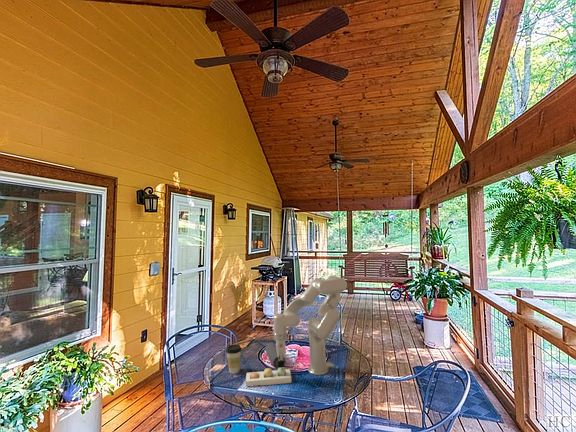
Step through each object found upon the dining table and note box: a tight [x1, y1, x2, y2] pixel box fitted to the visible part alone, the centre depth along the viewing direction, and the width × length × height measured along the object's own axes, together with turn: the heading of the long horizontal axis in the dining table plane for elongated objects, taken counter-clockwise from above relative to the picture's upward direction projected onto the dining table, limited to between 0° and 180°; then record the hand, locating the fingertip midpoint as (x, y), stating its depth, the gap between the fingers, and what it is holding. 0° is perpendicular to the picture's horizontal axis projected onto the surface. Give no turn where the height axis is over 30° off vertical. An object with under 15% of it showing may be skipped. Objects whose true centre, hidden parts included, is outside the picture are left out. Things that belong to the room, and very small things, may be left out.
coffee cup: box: [225, 344, 243, 375], centre depth 190 cm, size 10×10×15 cm
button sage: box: [277, 366, 286, 376], centre depth 178 cm, size 4×4×3 cm
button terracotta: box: [251, 373, 259, 379], centre depth 176 cm, size 4×4×3 cm
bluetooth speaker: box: [265, 342, 287, 370], centre depth 198 cm, size 23×9×10 cm, turn 16°
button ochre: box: [263, 367, 273, 377], centre depth 177 cm, size 4×4×3 cm
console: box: [245, 368, 292, 387], centre depth 177 cm, size 26×10×3 cm, turn 95°
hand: (281, 366), depth 178 cm, fingers closed
